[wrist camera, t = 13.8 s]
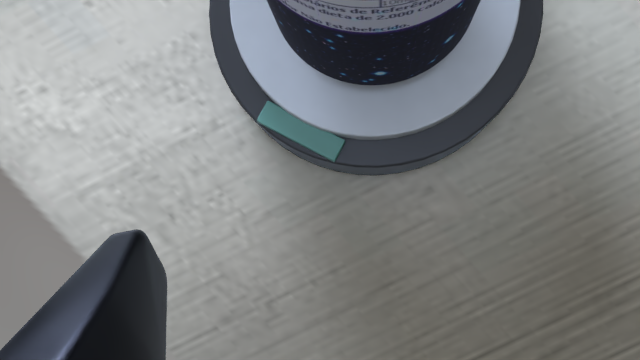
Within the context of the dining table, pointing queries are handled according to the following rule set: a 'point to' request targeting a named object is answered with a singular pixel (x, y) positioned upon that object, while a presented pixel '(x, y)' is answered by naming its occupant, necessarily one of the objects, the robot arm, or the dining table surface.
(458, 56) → the kitchen scale
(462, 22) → the beverage can
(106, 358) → the robot arm
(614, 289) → the dining table surface
